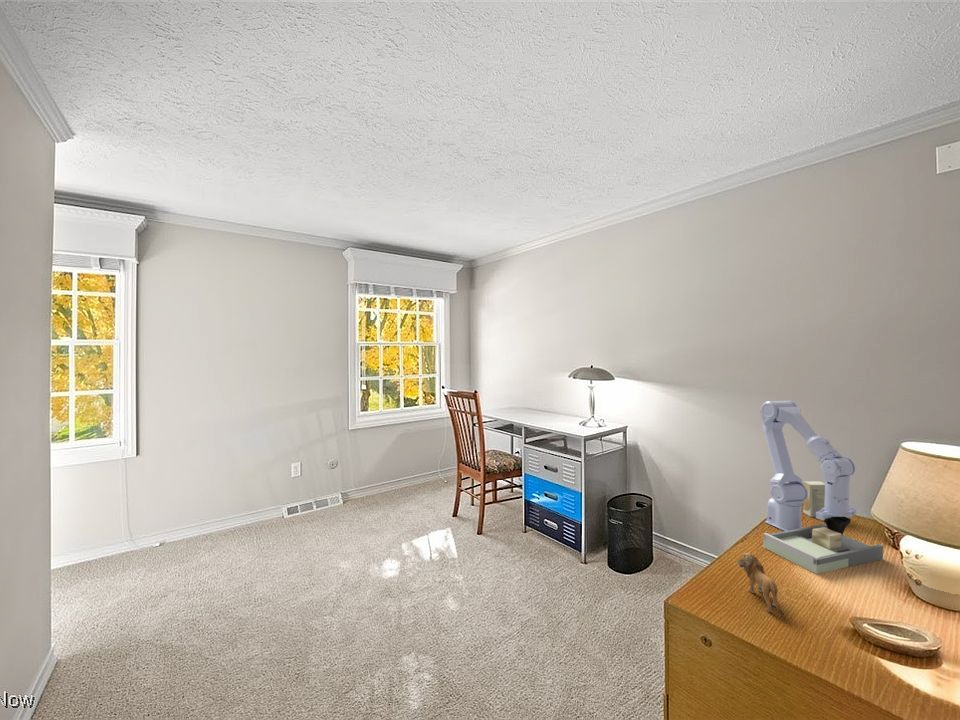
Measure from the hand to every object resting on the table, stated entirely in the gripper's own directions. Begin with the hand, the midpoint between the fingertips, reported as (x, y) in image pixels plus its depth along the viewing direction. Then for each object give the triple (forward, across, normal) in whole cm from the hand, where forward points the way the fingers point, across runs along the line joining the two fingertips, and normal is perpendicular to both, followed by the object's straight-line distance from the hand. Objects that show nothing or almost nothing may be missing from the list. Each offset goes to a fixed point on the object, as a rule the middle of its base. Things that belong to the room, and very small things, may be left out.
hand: (835, 539), depth 130 cm
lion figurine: (+4, -44, -11) cm, 46 cm away
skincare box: (+4, +22, +21) cm, 30 cm away
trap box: (+3, -6, 0) cm, 7 cm away
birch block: (+1, -4, 0) cm, 4 cm away
